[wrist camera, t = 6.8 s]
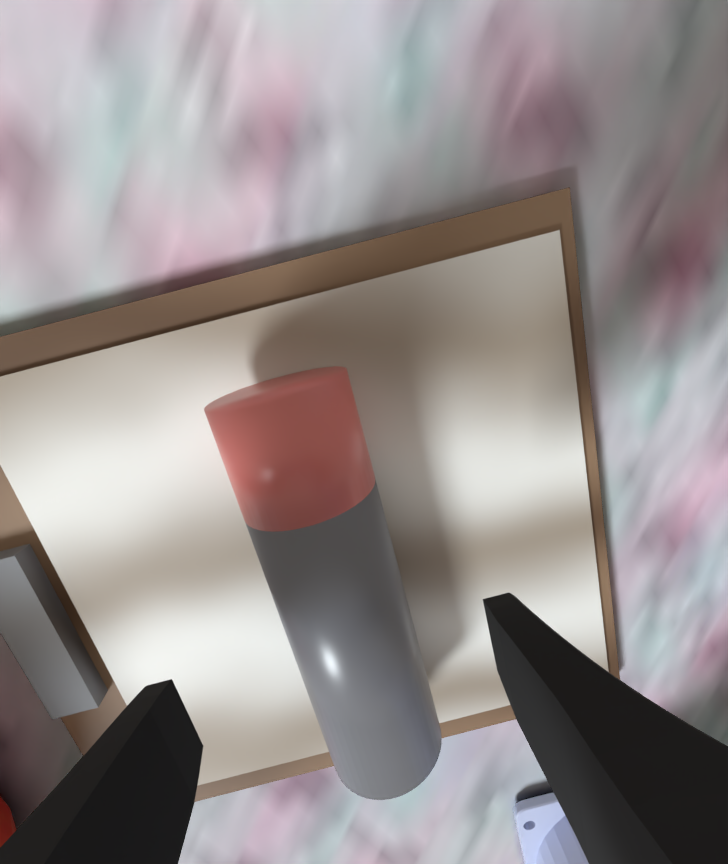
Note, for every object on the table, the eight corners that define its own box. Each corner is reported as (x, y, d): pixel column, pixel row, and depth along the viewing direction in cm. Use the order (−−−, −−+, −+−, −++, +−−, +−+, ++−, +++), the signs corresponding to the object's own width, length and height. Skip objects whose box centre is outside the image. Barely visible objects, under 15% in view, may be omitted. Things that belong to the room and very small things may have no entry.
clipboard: (611, 679, 18) (632, 707, 17) (127, 804, 18) (112, 841, 17) (559, 192, 13) (582, 181, 12) (-121, 370, 13) (-169, 378, 12)
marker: (406, 694, 17) (471, 769, 14) (323, 754, 16) (375, 852, 13) (313, 365, 14) (373, 368, 10) (193, 404, 12) (220, 420, 9)
